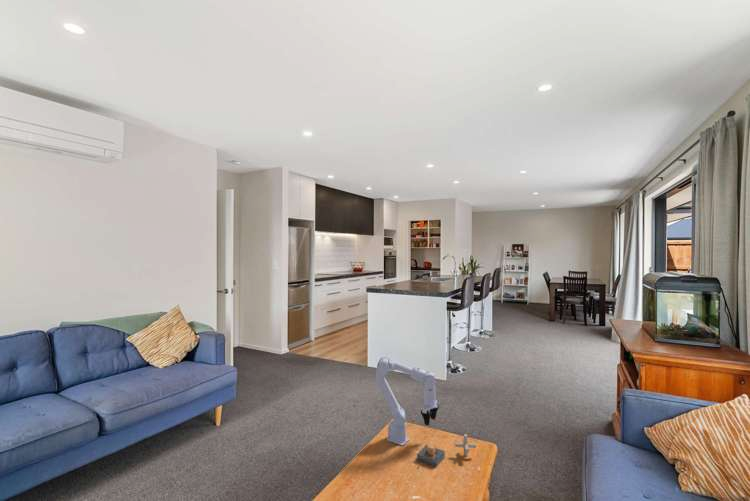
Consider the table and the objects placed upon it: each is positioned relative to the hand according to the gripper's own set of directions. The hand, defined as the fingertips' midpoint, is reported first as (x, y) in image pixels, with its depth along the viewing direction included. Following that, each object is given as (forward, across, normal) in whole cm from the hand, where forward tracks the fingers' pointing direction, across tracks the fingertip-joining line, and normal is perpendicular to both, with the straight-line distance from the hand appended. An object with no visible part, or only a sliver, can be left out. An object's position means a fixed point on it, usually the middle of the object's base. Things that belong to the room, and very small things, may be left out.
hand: (430, 421), depth 187 cm
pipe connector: (+11, -2, -20) cm, 23 cm away
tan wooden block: (+10, -14, -7) cm, 19 cm away
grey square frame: (+10, -14, -7) cm, 19 cm away
